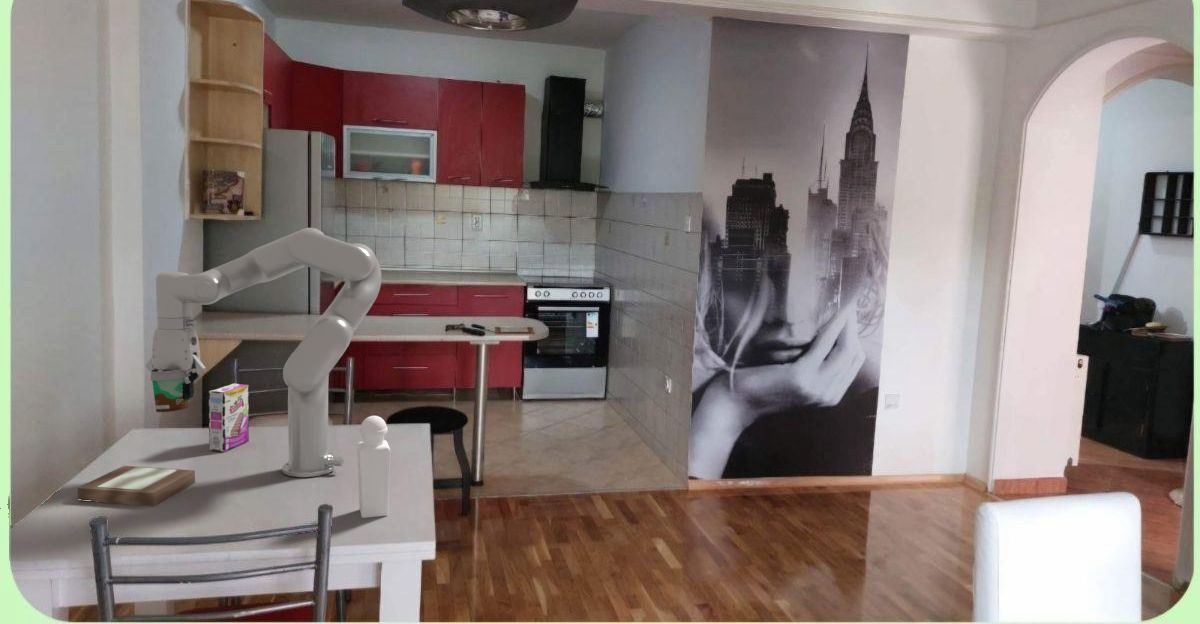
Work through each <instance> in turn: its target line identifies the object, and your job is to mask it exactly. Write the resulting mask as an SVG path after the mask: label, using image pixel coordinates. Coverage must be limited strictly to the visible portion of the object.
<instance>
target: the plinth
mask: <svg viewBox="0 0 1200 624" xmlns="http://www.w3.org/2000/svg"><path fill="white" fill-rule="evenodd" d="M195 483H196V470H194V469H182V468H181V469H180V468H165V467H164V468H163V467H149V466H148V467H146V466H133V465H132V466H131V465H122V466H120V467H118V468H116V469H114V470H112V471H110V472H107V473H106V474H103V475H101V476H99V477H97V478H95V479H93V480H90V481H89V482H87V483H84V484H82V485H80V486H78V487H77V488H76V489H77V490H76V492H77V500H78V499H81V500H91V501H98V502H97V503H101V502H105V504H117V505H131V506H133V505H134V506H145V507H146V506H148V507H156V506H158V505H159V504H161V503H163V502H164V501H166V500H168V499H169V498H171V497H174V496H175V495H176V494H178V493H180V492H182V491H183V490H185V489H187V488H188V487H191V486H192V485H194V484H195Z"/></svg>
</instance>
